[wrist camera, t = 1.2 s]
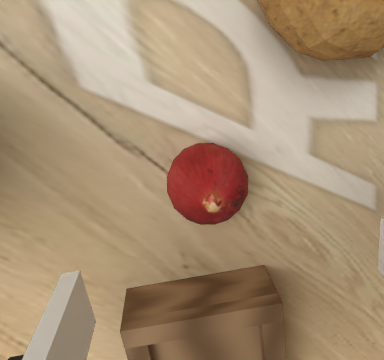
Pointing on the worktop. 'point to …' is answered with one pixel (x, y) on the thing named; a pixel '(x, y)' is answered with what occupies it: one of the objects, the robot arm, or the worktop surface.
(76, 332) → the robot arm
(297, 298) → the worktop surface
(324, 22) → the potato
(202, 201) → the pomegranate
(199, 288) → the walnut tray
